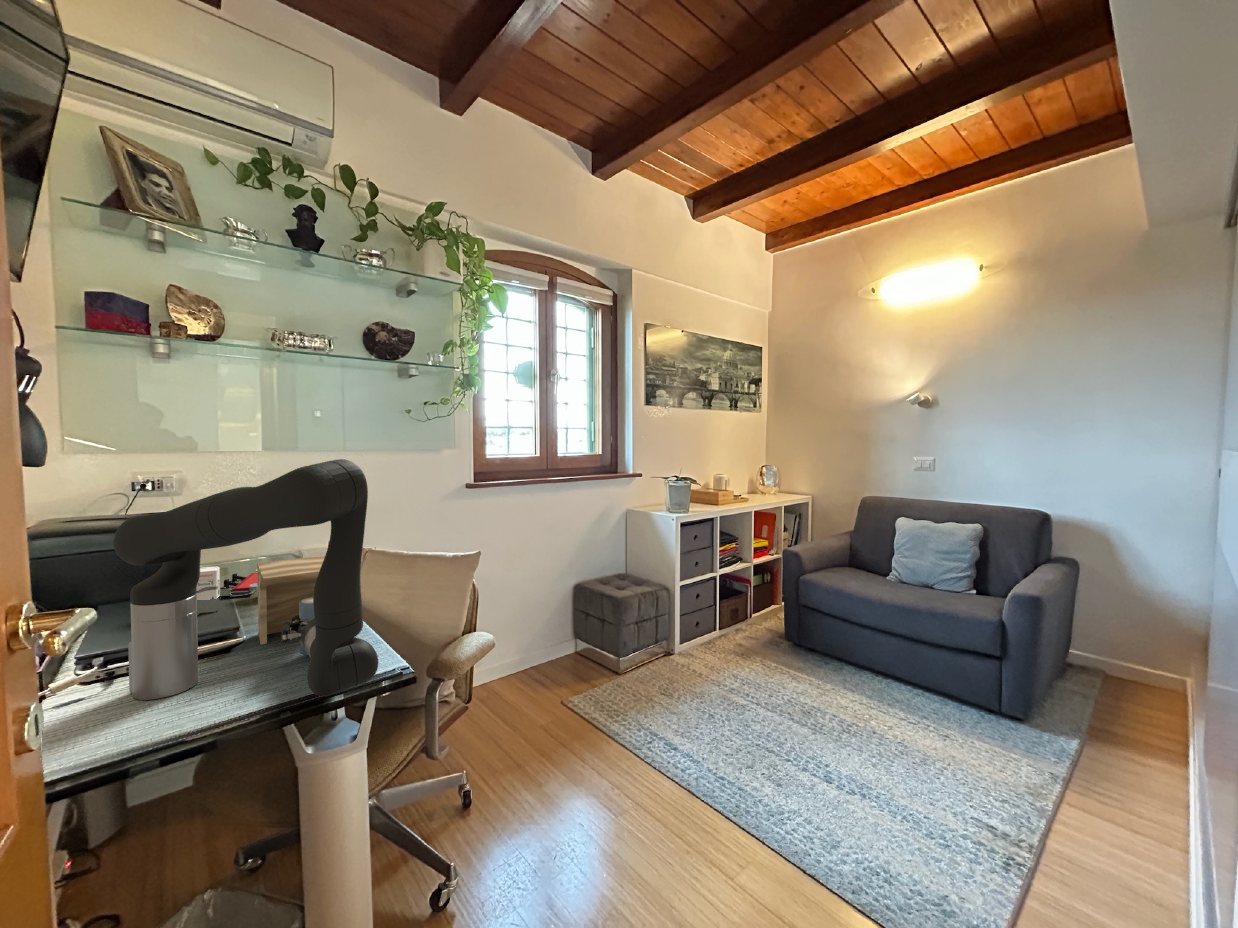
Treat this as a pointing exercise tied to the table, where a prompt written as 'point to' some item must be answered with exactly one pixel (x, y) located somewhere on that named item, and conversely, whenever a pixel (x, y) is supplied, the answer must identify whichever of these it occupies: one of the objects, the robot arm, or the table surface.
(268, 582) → the wooden step stool
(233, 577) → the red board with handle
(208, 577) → the ink box
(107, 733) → the table surface
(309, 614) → the tumbler
